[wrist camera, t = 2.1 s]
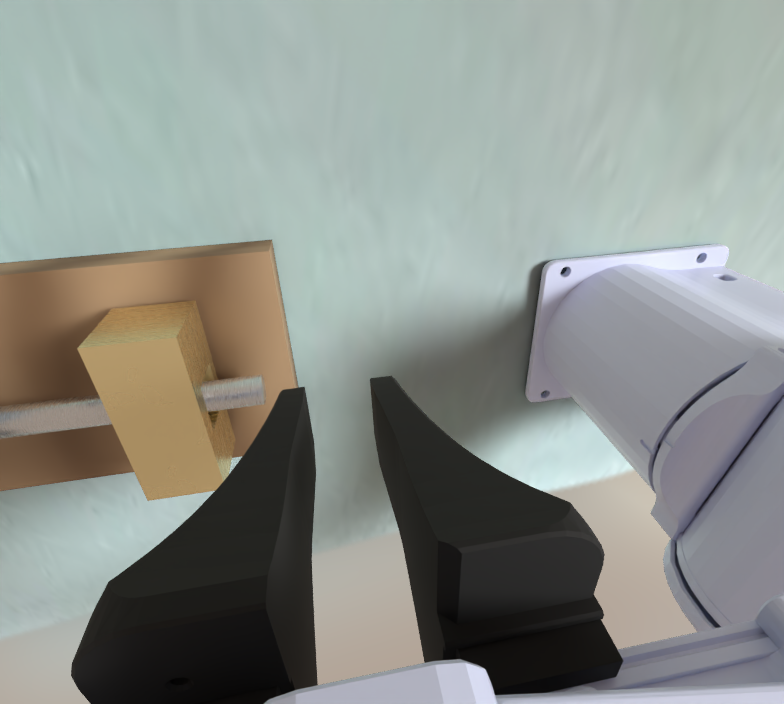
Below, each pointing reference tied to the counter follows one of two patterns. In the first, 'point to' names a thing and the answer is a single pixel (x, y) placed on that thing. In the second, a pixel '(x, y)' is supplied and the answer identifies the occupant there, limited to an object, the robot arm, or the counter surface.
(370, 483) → the counter surface
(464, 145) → the counter surface
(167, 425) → the nut
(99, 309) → the base
